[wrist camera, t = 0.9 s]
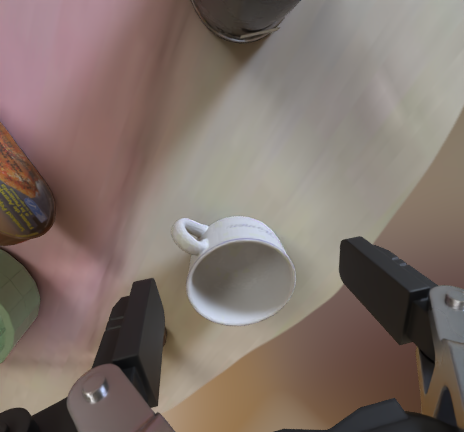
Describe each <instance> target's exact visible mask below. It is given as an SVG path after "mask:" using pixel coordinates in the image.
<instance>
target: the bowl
mask: <svg viewBox="0 0 464 432" xmlns="http://www.w3.org/2000/svg"><path fill="white" fill-rule="evenodd" d="M39 306H40V296H39V292H38V289H37V285H36V283H35V281H34V280H33V279H32V277H31V276H30V274H29V273H28V271H27V270H26V269H25V267H24V266H23V265H22V264H20V263H19V262H18V261H17V260H16V259H14V258H13V257H12V256H11V255H9V254H8V253H7V252H5V251H3V250H1V249H0V363H2V362H3V361H4V360H5V359H6V357H7V356H8V355H9V354H10V352H11V351H12V350H13V348H14V347H15V346H16V344H17V343H18V342H19V341H20V339H21V338H22V337H23V335H24V334H25V333H26V331H27V330H28V329H29V327H30V326H31V325H32V323H33V322H34V320H35V319H36V318H37V316H38V312H39Z"/></svg>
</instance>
